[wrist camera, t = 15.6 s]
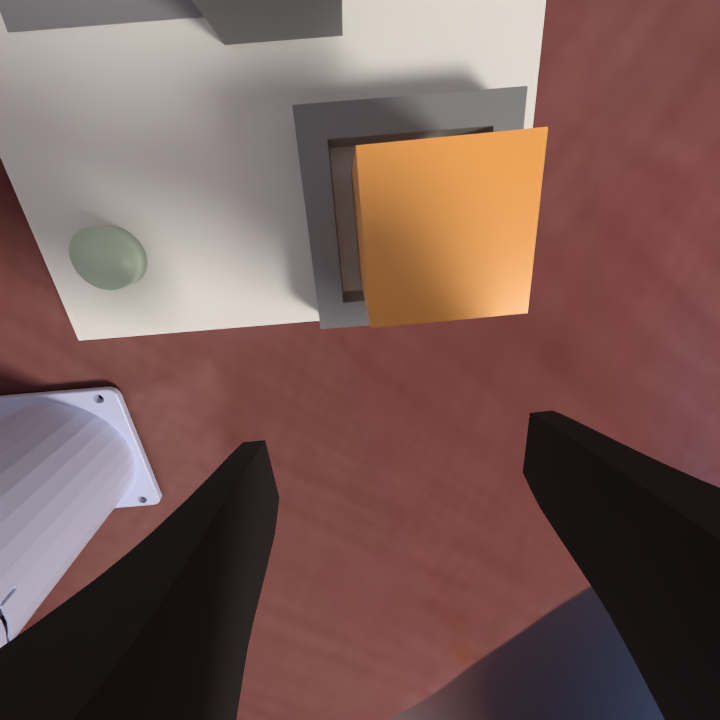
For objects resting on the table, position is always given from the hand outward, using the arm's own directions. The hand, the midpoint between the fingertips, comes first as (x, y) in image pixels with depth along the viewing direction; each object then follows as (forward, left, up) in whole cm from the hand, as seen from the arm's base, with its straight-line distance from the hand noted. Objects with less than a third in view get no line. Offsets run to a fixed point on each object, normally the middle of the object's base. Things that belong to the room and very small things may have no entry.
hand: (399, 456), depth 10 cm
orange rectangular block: (+1, +6, -8) cm, 10 cm away
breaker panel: (-4, +10, -9) cm, 14 cm away
